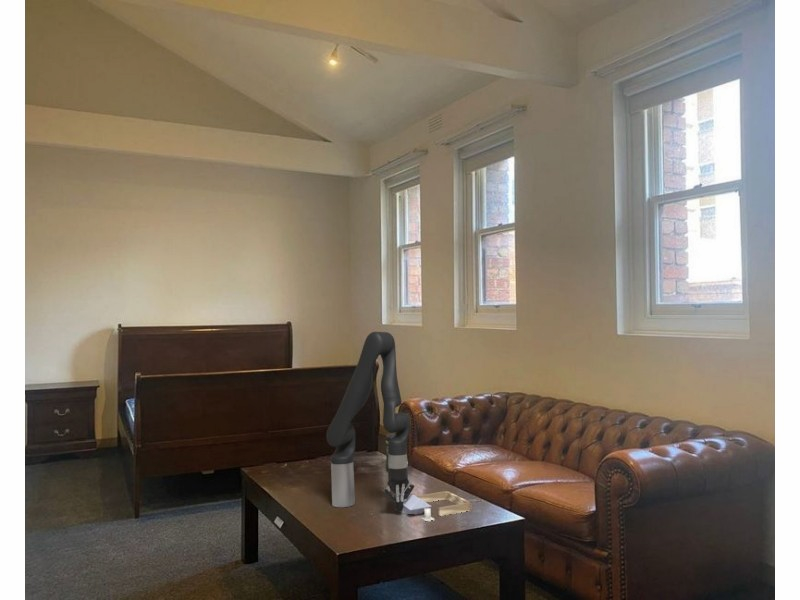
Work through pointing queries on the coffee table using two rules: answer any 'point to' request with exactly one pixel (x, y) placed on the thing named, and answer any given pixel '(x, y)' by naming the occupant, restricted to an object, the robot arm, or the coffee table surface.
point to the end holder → (453, 509)
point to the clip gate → (427, 514)
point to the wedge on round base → (414, 505)
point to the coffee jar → (387, 446)
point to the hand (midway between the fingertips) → (399, 510)
